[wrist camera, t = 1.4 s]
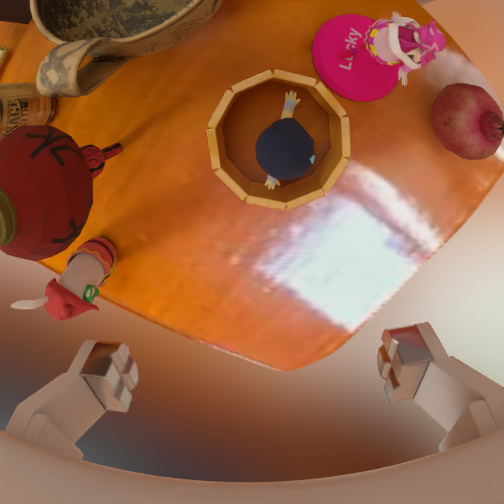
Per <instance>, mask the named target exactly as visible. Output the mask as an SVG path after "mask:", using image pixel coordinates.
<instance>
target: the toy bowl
mask: <svg viewBox="0 0 504 504" xmlns="http://www.w3.org/2000/svg"><path fill="white" fill-rule="evenodd" d="M269 81H275V82H280V83H284V84H289V85H293V86H297V87H301V88H305V89H307V91H308V92H309V93H310V94H311V95H312V96H313V97H314V98H315V100H316V101H317V102H318V103H319V104H320V105H321V107H322V108H323V109H324V110H325V111H326V112H327V114H328V118H329V131H330V147H331V148H330V149H329V151H328V152H327V154H326V155H325V157H324V158H323V160H322V161H321V163H320V165H319V166H318V168H317V169H316V171H315V172H314V174H313V175H311V176H309V177H306V178H304V179H301V180H299V181H296V182H294V183H291V184H289V185H287V186H284V187H279V186H275V188H274V189H273V190H272V187H271V188H270V189H268V185H267V186H265V184H264V183H260V182H254V181H250V180H249V179H248V178H247V177H246V176H245V175H244V174H243V173H242V172H241V171H240V170H239V169H238V168H237V167H236V166H235V165H234V164H233V163H232V162H231V161H230V160H229V159H228V158H227V156H226V149H225V142H224V135H223V128H222V123H223V121H224V119H225V118H226V116H227V114H228V112H229V111H230V109H231V107H232V105H233V104H234V102H235V100H236V98H237V97H238V95H239V94H241V93H243V92H245V91H248V90H250V89H252V88H255V87H257V86H259V85H262V84H264V83H267V82H269ZM316 81H317V79H316V78H312V77H308V76H304V75H300V74H296V73H292V72H288V71H283V70H279V69H274V71H273V73H272V72H271V70H270V69H269V70H266V71H264V72H261V73H259V74H257V75H254V76H252V77H250V78H247V79H245V80H243V81H240V82H238V83H236V84H234V85H231V89H232V90H229V89H227V90H226V92H225V93H224V95H223V97H222V99H221V100H220V102H219V104H218V106H217V107H216V109H215V111H214V113H213V115H212V117H211V118H210V120H209V122H208V124H207V126H209V127H210V128H208V129H206V133H207V139H208V146H209V152H210V158H211V165H212V169H216V171H215V174H216V175H217V176H218V177H219V178H220V179H221V180H222V181H223V182H224V183H225V184H226V185H227V186H228V187H229V188H230V189H231V190H232V191H233V192H234V193H235V194H236V195H237V196H238V197H239V198H240V199H241V200H242V201H243V200H244V199H245V198H246V203H249V204H254V205H259V206H265V207H270V208H275V209H279V210H285V208H286V205H287V208H288V210H291V209H293V208H296V207H298V206H300V205H303V204H305V203H308V202H310V201H313V200H315V199H318V198H320V197H323V196H325V193H324V191H325V192H327V193H329V192H330V190H331V189H332V187H333V186H334V184H335V183H336V181H337V180H338V178H339V177H340V175H341V174H342V172H343V171H344V169H345V168H346V166H347V164H348V163H349V161H350V160H349V159H347V158H346V157H351V141H350V123H349V117H347V116H345V115H346V114H347V112H346V111H345V109H344V108H343V107H342V106H341V104H340V103H339V102H338V101H337V100H336V98H335V97H334V96H333V95H332V94H331V92H330V91H329V90H328V89H327V88H326V87H325V85H324V84H323V83H322V82H321V81H320V82H316ZM323 190H324V191H323Z"/></svg>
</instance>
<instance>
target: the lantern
mask: <svg viewBox="0 0 504 504" xmlns="http://www.w3.org/2000/svg"><path fill="white" fill-rule="evenodd" d="M121 151H122V146H121V145H120V144H119V143H116V144H113V145H111V146H108V147H106V148H104V149H101V150H100V149H99V148H98V147H96V146H94V145H86V146H83V147H80V148H79V146H78V145H77V144H76V142H75V141H74V140H73V139H72V137H71V136H70V135H68V134H66V133H64V132H62V131H60V130H59V129H57V128H55V127H53V126H45V125H24V126H19V127H18V128H16V129H15V130H13V131H12V132H10V133H9V134H8V135H6V136H5V137H3V138H2V139H0V250H2V251H3V252H4V253H6V254H7V255H11V256H15V257H19V258H23V259H28V260H32V261H38V260H42V259H45V258H49V257H52V256H54V255H56V254H58V253H60V252H62V251H64V250H66V249H67V248H68V247H69V246H70V244H71V243H72V242H73V241H74V240H75V239H76V238H77V237H78V236H79V235H80V233H81V231H82V229H83V227H84V225H85V223H86V221H87V218H88V215H89V212H90V209H91V207H92V204H93V178H95V177H97V176H98V175H99V174H100V173H101V172H102V171H103V168H104V165H105V160H107V159H109V158H111V157H113V156H115V155H117V154H119V153H120V152H121Z"/></svg>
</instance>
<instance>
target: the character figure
mask: <svg viewBox="0 0 504 504" xmlns="http://www.w3.org/2000/svg"><path fill="white" fill-rule="evenodd" d="M296 95H297V92H294V94H293V91H292V90H291V91H290V95H288V92H286V94H285V100H286V101H285V104H284V107H283V110H282V115H281V120H279V121H276V122H274V123H273V124H272V125H271V126H270V127H268V128H267V129H265V130H264V131H263V132H262V134H261V135H260V136H259V138H258V140H257V142H256V158H257V161H258V163H259V165H260V166H261V167H262V169H263V170H264V171H265V172H266V173H267V174H268V179H267V181H266V182H265V186H267V185H268V189H270V188H271V187H272V190H273V189H274V188H275V185H276V184H277V185H278V186H279V185H280V182H279V180H287V179H293V178H297V177H299V176H301V175H303V174H304V173H305V172H307V171H308V169H309V168H310V167H311V165H312V164H313V162H314V159H315V156H314V146H313V144H314V141H313V139H312V138H311V137H310V135H309V134H308V133H307V132H306V131H305V130H304V128H303V127H302V126H301V125H300V124H299V123H298V122H297V121H296V120H295V119H293V118H292V115H293V112H294V108H295V106H296V105H297V104H298V103H299V102H300V99H297V100H296ZM278 179H279V180H278Z"/></svg>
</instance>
